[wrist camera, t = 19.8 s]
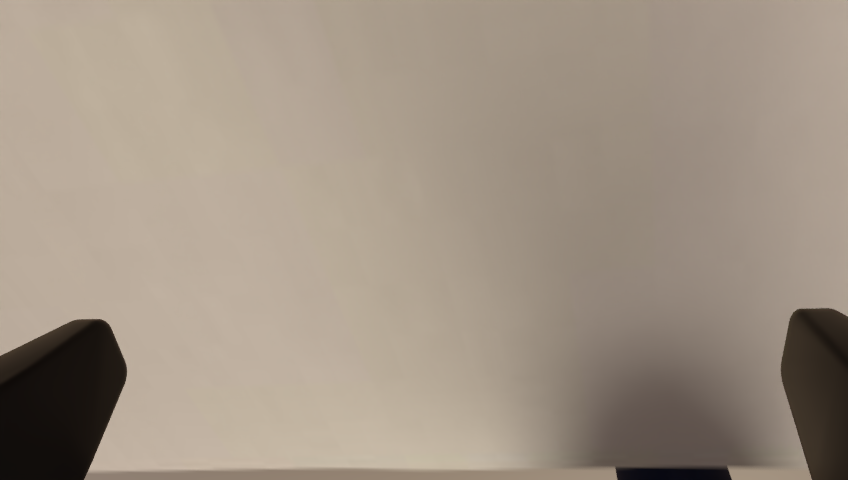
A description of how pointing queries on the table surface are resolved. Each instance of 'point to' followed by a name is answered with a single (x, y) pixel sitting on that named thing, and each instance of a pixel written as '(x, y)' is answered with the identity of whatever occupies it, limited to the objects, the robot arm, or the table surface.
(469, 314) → the table surface
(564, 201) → the table surface
